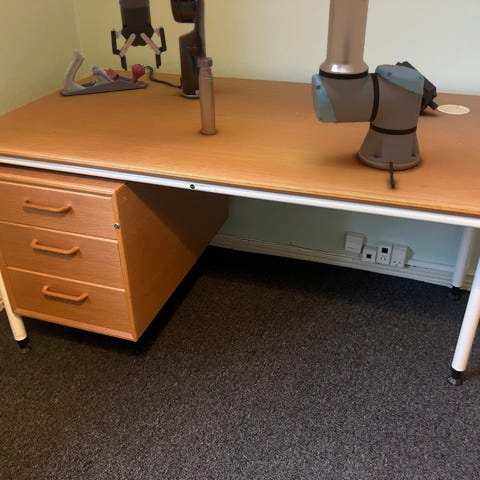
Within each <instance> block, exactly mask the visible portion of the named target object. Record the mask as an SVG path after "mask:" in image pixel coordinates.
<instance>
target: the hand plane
mask: <svg viewBox="0 0 480 480" xmlns="http://www.w3.org/2000/svg"><path fill="white" fill-rule="evenodd" d="M85 59H86V58H85V56H84V55H83V54H82V53H81V52H80V51H79V50H77V49H76V48H73V50H72V58H71V62H70V63H69V65H68V67H67V68H66V70H65V72H64V74H63V80H62V84H63V88H62V90H61V93H62V95H63V96H74V95H84V94H94V93H104V92H112V91H113V92H114V91H121V90H132V89H142V88H146V83H145V81H143V80H139V78H142V77H144V76H145V75H146V67H145V66H143V65H140V64H136V63H134V64H135V65H134V64H133V65H132V66H131V73H132V76H131V78H130V77H126V76H123V75H120V74H119V73H117V72H116V71H114V70H113V69H112V68H111V67H109V68H108V70H107V71H105V70H104V69H103V68H102V67H100V65H94V66H92V68H91V70H90V72H91V75H93V76H94V77H97V78H95V79H90V81H89V82H86V83H80V84H78V83H77V82H76V81H75V78H76V74H77V72H78V71H79V69H80V68H81V66H82V65H83V63H84V61H85Z"/></svg>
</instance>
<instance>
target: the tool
mask: <svg viewBox="0 0 480 480" xmlns="http://www.w3.org/2000/svg"><path fill="white" fill-rule="evenodd" d="M395 65H398V66H403V67H408V68H411V69H414V70H416V71H418V72H419V70H418V69H417V68H416V67H415V66H413V65H412V64H411V63H410V62H409V61H407V60H405V61H402V62H400V61H397V62H396V63H395ZM423 77H424V86H423V92H424V93H423V95H422V101H421V107H420V112H419V114H420V113H422V112H424V111H425V110H426V109H427V108H428V107H429V108H430V109H431V110H432V111H436V110H437V109H438V108H439V104H437V103H436V101H434V99H436V98H437V97H438V93H437V86H435V85H434V83H432V82H431V81H430V80H429V79H428V78H427V77H426V76H425V75H423Z"/></svg>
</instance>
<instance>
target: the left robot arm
mask: <svg viewBox="0 0 480 480" xmlns="http://www.w3.org/2000/svg"><path fill="white" fill-rule="evenodd" d="M150 4H151V3H150V0H118V5H119V10H120V18H121V26H122V28H121V29H115V28H112V29H110V39H111V52H112V53H111V54H113V55H116V56H118V57H119V59H120V65H121V66H120V67H121V69H122V70H124V71H125V72H127V71H128V65H127V55H126V53H127V51H128V50H129V49H130V47H134V48H135V47H146V46H147V45H148V46H149V48H150V49H152V51H153V52H154V57H155V58H154V59H155V67H156V69H157V70H158V69H160V67H162V53H164V52H167V51H168V48H167V41H166V34H165V33H166V32H165V29H164V26H163V25H162V26H159V27H153V24H152V17H151V15H152V14H151V7H150V6H151V5H150ZM169 6H170V12H171V16H172V19H173V20H174V22H175V23H177V24H189V25H190V24H191V25H192V24H193V29H191V30H190V31H187V32H185V33H183V34H180V35H178V39H177V40H178V51H179V52H178V53H179V64H180V76H179V83H180V85H175V84H173V83H171V82H169V81H167V80H161V79H157V78H154V77H153V76H152V75H153V71H154V68H153V67H152V66H150V65H148V66H144V65H142V66H143V67H145V68H148V69H150V71H149V78H150V79H151V80H152V81H154V82H158V83H162V84H166V85H168V86H170V87H174V88H177V89H181V91H182V92H181V94H182V96H183V97H184V98H188V99H200V95H199V72H200V67H198V58H201V57H207V42H206V41H207V39H206V36H207V35H206V34H207V33H206V31H207V30H206V0H169ZM154 34H156V36H157V37H159V38H160V46H157V44H156V43H155V42H154V41H153V39H152V38H153V36H154ZM120 36H122V37H123V38H124V39H125V41H124V43H123V45H122V47H121V49H120V48H119V49H118V44H117V40H118V39H120ZM135 64H136V63H134V64H133V65H135Z"/></svg>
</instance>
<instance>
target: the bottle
mask: <svg viewBox="0 0 480 480" xmlns="http://www.w3.org/2000/svg"><path fill="white" fill-rule="evenodd" d="M214 81H215V80H214V74H213V71H212V67H208V68H201V67H200V72H199V95H200V98H199V110H200V126H201V127H200V128H201V129H200V130H201V134H203V135H207V136H211V135H214V134H216V132H217V127H216V105H215V103H216V102H215V85H214Z"/></svg>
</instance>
